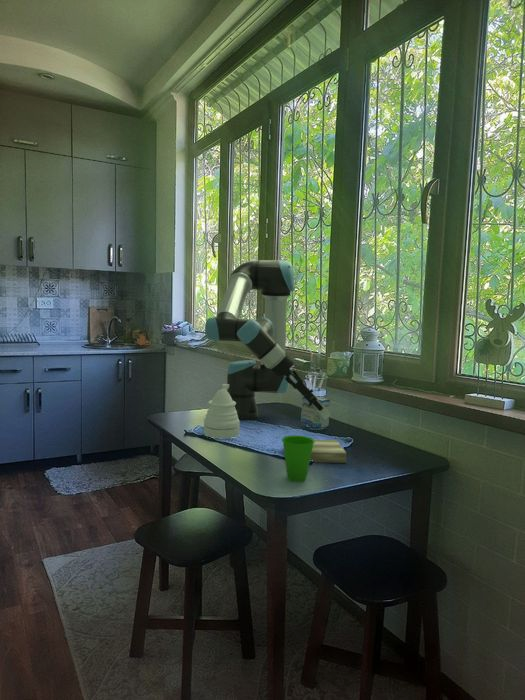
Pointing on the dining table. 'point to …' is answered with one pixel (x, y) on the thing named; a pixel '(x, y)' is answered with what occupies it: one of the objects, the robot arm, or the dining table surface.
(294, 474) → the cup
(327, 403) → the medicine box
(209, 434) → the honey pot
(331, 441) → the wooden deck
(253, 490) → the dining table surface
